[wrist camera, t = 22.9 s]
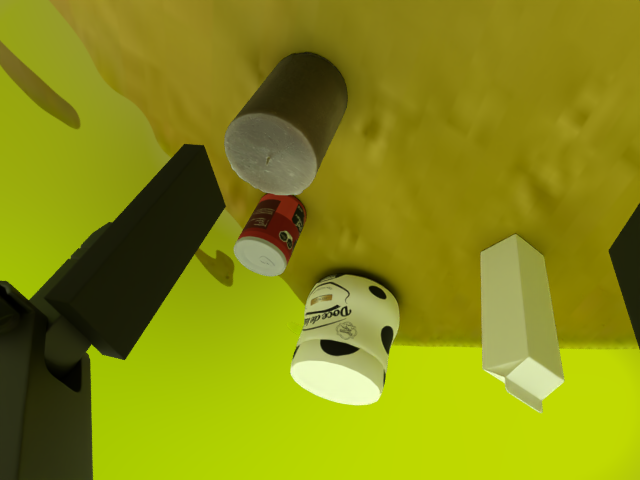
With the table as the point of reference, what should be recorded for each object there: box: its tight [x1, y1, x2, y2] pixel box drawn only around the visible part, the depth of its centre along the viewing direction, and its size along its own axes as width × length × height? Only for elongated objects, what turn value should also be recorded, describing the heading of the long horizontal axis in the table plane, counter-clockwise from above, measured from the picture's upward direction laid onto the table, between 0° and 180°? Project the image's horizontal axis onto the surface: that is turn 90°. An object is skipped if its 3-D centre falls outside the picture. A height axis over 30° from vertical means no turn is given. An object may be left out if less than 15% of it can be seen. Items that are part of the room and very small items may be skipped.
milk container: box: [291, 274, 400, 405], centre depth 67 cm, size 17×17×18 cm
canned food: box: [234, 193, 306, 276], centre depth 58 cm, size 8×8×11 cm
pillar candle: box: [224, 52, 348, 195], centre depth 41 cm, size 10×10×15 cm
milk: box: [481, 234, 564, 413], centre depth 48 cm, size 6×6×22 cm
